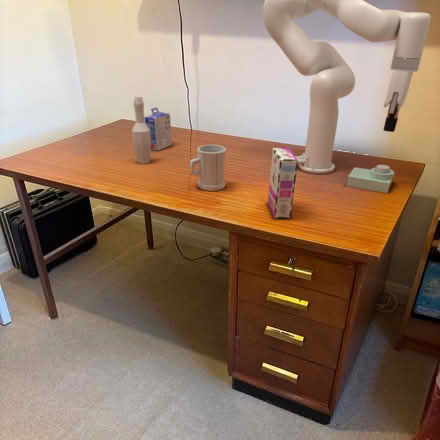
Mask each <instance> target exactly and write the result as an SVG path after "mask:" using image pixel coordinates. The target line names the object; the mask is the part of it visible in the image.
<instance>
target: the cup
mask: <svg viewBox="0 0 440 440" xmlns="http://www.w3.org/2000/svg"><path fill="white" fill-rule="evenodd" d="M196 152H197V157H196V158H192V159H191V160H190V161H189V169H190V173H191V174H192V175H193V176H194V177H197V176H198V181H197V186H198V188H199V189H200V190H203V191H207V192H217V191H221V190H223V189H224V188H225V187H226V180H225V167H226V166H225V165H226V153H227V148H226V147H225V146H223V145H219V144H203V145H200V146H198V147H197V148H196ZM197 164H198V170H196V169H195V166H196V165H197Z"/></svg>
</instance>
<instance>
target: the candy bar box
mask: <svg viewBox="0 0 440 440" xmlns="http://www.w3.org/2000/svg"><path fill="white" fill-rule="evenodd" d="M271 152H272V153H271V162H270V172H269V173H270V176H269V184H268V186H269V187H268V197H267V204H268V207H269V210H270V211H271V214H272V216H273V218H274V219H291V218H292V211H293V202H294V195H295V187H296V179H297V170H298V165H299V163H298V160H297V158H296V157H297V156H296V155H295V154H294V153H293V152H292V150H291V149H290V148H289V147H272V151H271ZM295 156H296V157H295Z"/></svg>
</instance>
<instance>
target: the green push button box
mask: <svg viewBox="0 0 440 440" xmlns="http://www.w3.org/2000/svg"><path fill="white" fill-rule="evenodd" d="M376 167H377V166H375V167H372V168H371V169H369V168H363V167H357V166H356V167H353V169H352V170H351V171H350V173H349V174H348V176H347V179H346V184H345V185H346V187H351V188H357V189H361V190H362V189H363V190H368V191H375V192H380V193H386V194H388V193H389V191H390V188H391V186H392V184H393V182H394V178H395V171H394V170H393V169H391V168H390V169H389V173H378V172H376Z"/></svg>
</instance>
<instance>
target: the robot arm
mask: <svg viewBox="0 0 440 440" xmlns="http://www.w3.org/2000/svg"><path fill="white" fill-rule="evenodd" d="M319 10H322V11H323V12H325V13H327V14H328V15H330V16H332V17H334V18H336V19H337V20H339V23H341V24H342V25H343V26H344V27H345V28H346V29H347V30H349V31H350V32H352V33H354V34H355V35H357V36H359V37H361V38H363V39H364V40H366V41H368V42H371V43H383V42H390V41H395V45H394V50H393V54H392V59H391V63H390V67H389V70H390V71H391V70H392V73H391V76H390V80H389V83H388V87H387V91H386V94H385V99H384V102H383V107H384V108H387V107H388V110H387V115H386V117H385V121H384V125H383V132H389V133H394V132H395V131H396V127H397V124H398V121H399V120H398V119H399V115H400V109H401V108H402V107H403V106H404V104H405V102H406V99H407V96H408V93H409V89H410V85H411V82H412V77H413V73H415V72H418V71H419V68H420V63H421V60H422V55H423V53H424V48H425V45H426V41H427V38H428V37H427V36H428V34H429V30H430V26H431V21H432V16H431V14H430V13H427V12H420V11H409V12H406V11H403V10H398V9H380V8H378V7H376V6H374V5H373V4H370V3H368V2H367V1H365V0H264V2H263V8H262V19H263V23H264V27H265V29H266V31H267V33H268V35H269V36H270V38H271V39H272V40H273V41H274V42H275V43H276V45H277V46H278V47H279V49H281V51H282V52H283V54H284V55H285V56H286V57H287V59H288V60H289V62H290V63H291V64H292V66H293V67H294V68H295V70H296V71H297V72H298V74H300V75H301V76H304V77H311V76H314V77H313V78H312V79H311V82H310V85H309V116H308V123H307V124H308V125H307V132H306V139H305V140H306V141H305V148H304V152H302V154H301V155H298V156H297V155H294V156H295V157H296V158H297V160H298V168H299V169H300V170H301V171H304V172H306V173H310V174H311V173H312V174H329V173H332V172H334V171H335V169H336V165H335V163H333V162H332V160H333V159H332V158H333V153H334V148H335V147H334V146H335V140H336V136H337V135H336V134H337V127H338V123H339V122H338V121H339V110H340V109H339V100H340V99H343V98H346V97H348V96H349V95H350V94H351V93H352V92H353V91H354V89H355V86H356V75H355V74H354V72H353V70H352V68H351V67H350V65H348V63H347V62H346V60H345V59H344V58H343V56H341V54H340V53H339V52H338V51H337V49H336V48H335V47H334V46H333V45H332V44H330V43H329V42H327V41H313V40H312V39H311V38H310V37H309V35H308V34H307V33H306V32H305V31H304V29H303V28H302V27H301V26H300V25H298V23H296V22H295V21H294V20H295V19H296V20H297V19H301V18H303V17H306V16H308V15H310V14H313V13H314V12H316V11H319Z"/></svg>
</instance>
